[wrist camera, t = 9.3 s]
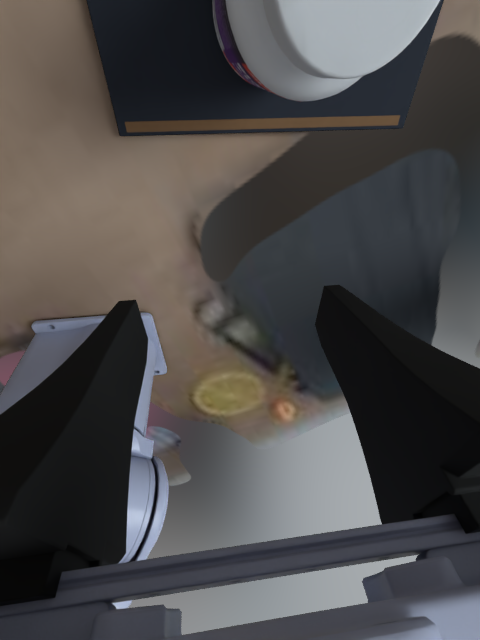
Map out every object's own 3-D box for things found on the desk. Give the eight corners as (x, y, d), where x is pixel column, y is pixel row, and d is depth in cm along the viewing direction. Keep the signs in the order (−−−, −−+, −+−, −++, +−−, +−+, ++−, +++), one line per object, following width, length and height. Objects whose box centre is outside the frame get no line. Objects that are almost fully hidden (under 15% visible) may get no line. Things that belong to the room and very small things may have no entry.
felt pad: (121, 134, 15) (119, 136, 15) (40, -198, 9) (35, -206, 9) (399, 127, 17) (403, 128, 16) (491, -168, 11) (500, -175, 10)
